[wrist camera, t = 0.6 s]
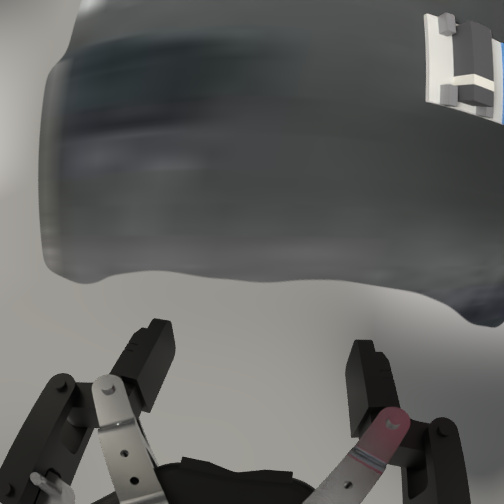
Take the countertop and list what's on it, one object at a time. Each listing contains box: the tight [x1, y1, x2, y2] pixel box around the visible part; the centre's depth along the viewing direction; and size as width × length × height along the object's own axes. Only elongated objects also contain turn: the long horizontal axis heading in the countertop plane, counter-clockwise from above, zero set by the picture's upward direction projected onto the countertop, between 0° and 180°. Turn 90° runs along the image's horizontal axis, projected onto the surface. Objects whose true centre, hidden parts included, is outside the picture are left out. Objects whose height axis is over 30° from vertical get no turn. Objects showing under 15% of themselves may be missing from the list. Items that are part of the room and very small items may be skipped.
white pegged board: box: [424, 12, 504, 125], centre depth 23 cm, size 12×22×4 cm, turn 89°
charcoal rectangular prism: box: [452, 20, 494, 107], centre depth 22 cm, size 10×3×5 cm, turn 179°
